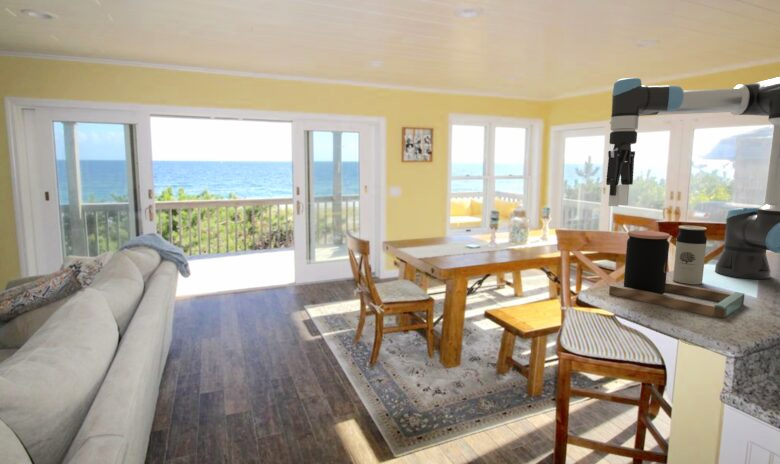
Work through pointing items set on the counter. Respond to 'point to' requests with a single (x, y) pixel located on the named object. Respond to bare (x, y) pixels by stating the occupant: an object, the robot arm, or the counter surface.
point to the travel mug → (690, 255)
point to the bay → (721, 310)
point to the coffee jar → (646, 261)
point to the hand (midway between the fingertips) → (618, 205)
